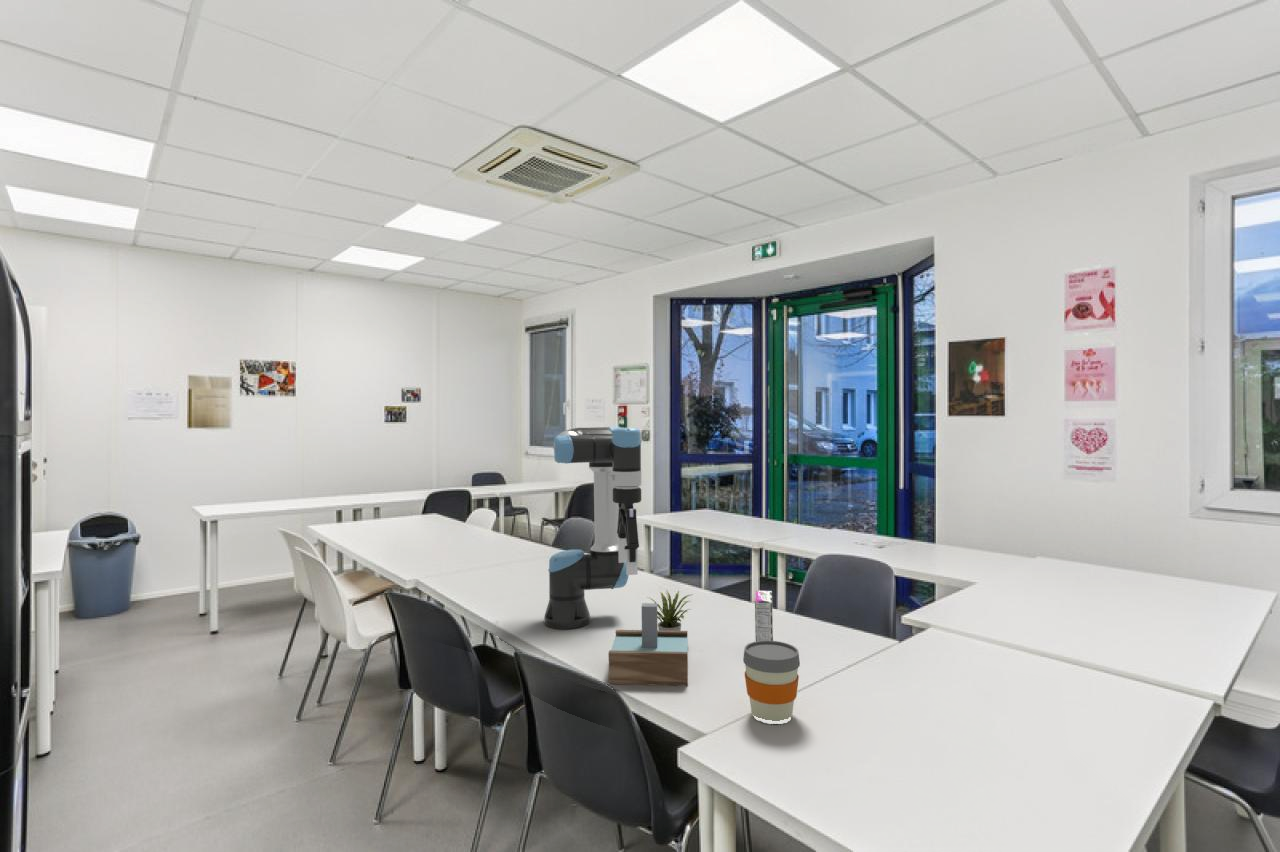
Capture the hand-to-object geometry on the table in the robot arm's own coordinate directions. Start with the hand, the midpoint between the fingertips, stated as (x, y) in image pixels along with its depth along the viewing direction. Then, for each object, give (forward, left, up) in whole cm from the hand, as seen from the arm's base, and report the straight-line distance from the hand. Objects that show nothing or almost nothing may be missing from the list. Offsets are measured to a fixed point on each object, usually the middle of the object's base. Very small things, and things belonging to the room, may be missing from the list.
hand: (627, 568), depth 166 cm
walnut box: (-3, +5, -28) cm, 29 cm away
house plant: (-23, +11, -29) cm, 39 cm away
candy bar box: (-19, +37, -29) cm, 51 cm away
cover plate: (-3, +5, -22) cm, 23 cm away
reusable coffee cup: (+20, +34, -29) cm, 49 cm away
